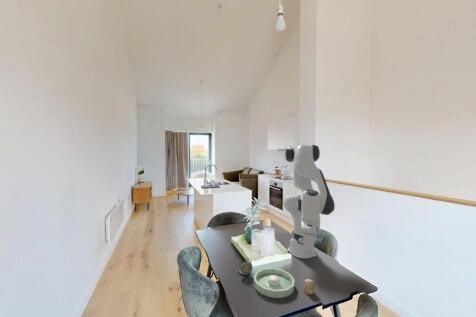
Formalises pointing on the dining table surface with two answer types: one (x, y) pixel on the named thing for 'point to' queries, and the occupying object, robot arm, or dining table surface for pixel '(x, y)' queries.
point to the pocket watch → (245, 268)
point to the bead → (309, 286)
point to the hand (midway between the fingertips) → (309, 252)
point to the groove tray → (274, 290)
